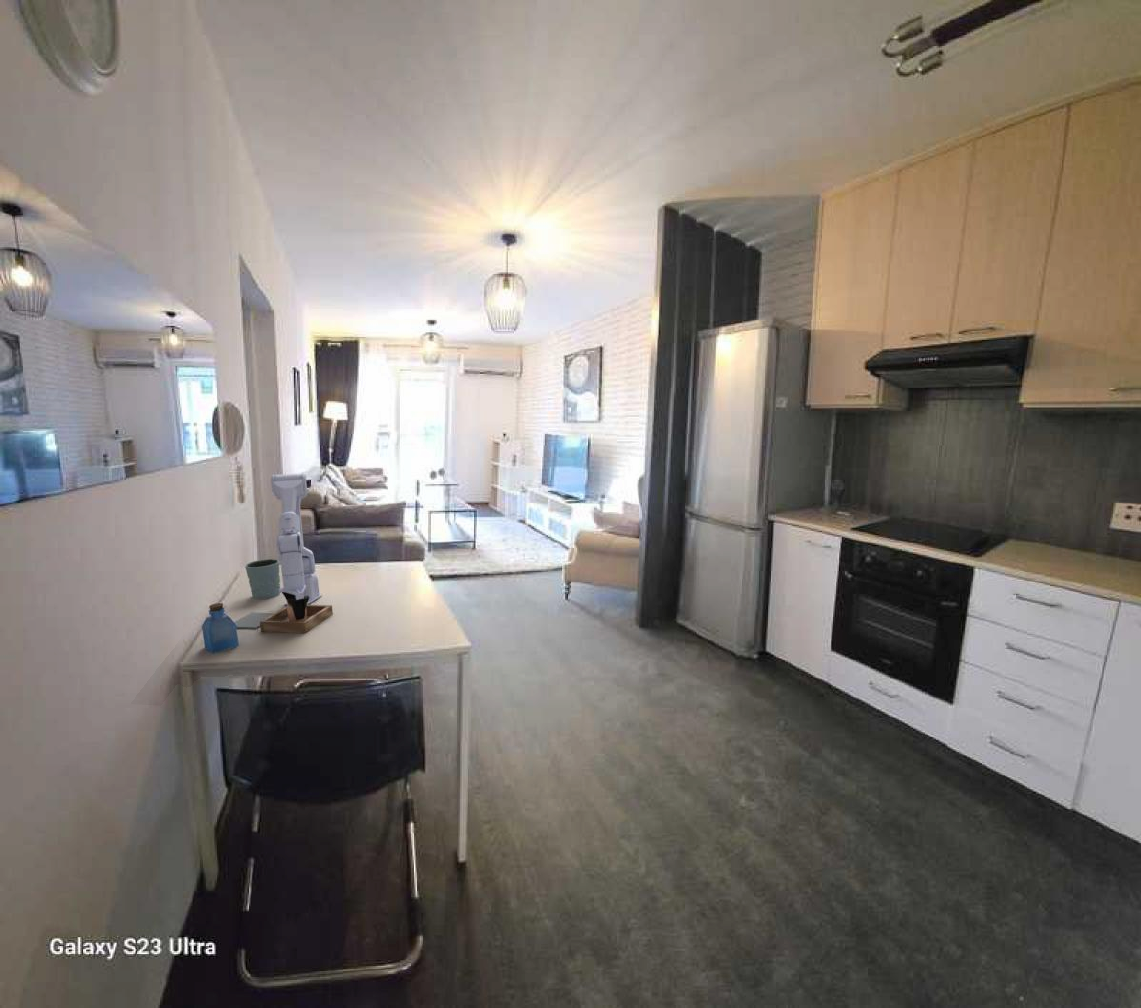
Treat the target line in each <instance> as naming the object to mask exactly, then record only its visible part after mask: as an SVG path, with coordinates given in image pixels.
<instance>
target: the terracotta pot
mask: <svg viewBox="0 0 1141 1008" xmlns="http://www.w3.org/2000/svg"><path fill="white" fill-rule="evenodd" d="M286 607H287V611H288V617H287V619H288V621H297V622H304V621H305V620H307V619H308V615H307V612H306V610H305V617H304V619H301V620H296V618H295V615H294V612H293V609H292V606H291V604H290V603H289V604H288V605H286Z"/></svg>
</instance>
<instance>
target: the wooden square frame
mask: <svg viewBox="0 0 1141 1008" xmlns="http://www.w3.org/2000/svg"><path fill="white" fill-rule="evenodd" d="M306 612H307V616H310V617H309V618H308V617H307V620H305V621H304V622H297V621H289V620H287V621H286V620H285V619H288V611H287V606H285V607H284V608H282V609H280V610H278V611H277V612H273V613H274V614H273V615H271V616H269V617H267V618H266V619H264V620H262V621H260V627H259V628H260V632H264V633H265V632H267V633H268V632H272V633H299V634H300V633H301V634H302V633H303V634H306V633H307V632H309V631H310V630H313V629H314V628H315V627H316V626H318V625H320V624H321V623H322V622H324V621H325V620H326V619H328V618H329V617H331V616H332V615H333V614H334V612H333V605H332V604H331V605H329V604H308V605H306Z"/></svg>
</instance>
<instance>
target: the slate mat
mask: <svg viewBox="0 0 1141 1008" xmlns="http://www.w3.org/2000/svg"><path fill="white" fill-rule="evenodd" d="M274 613H275V612H256V611H255V612H250V613H249V614H246V615H244V616H242V617H240V618H239V619H237V620H235V621H233V622H234V623H235V624H236V629H242V630H243V629H246V630H247V629H248V630H250V629H251V630H257V629H259V628H261V627H260V621H262V620H264V619H266V618H267V617H269V616H271V615H273V614H274Z"/></svg>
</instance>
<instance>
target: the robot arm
mask: <svg viewBox="0 0 1141 1008" xmlns="http://www.w3.org/2000/svg"><path fill="white" fill-rule="evenodd" d="M270 483H271V490H272V492H273V495H274V497H275V498H276V500H280V501H281V510H282V514H280V515H279V517H278V529H277V530H278V536H276V539H275V545H276V546H275V547H276V552H277V554H278V560H279V561H280V569H281V576H282V578H281V579H282V585H283V587H282V588H281V587H280V589H279V592H280V593H281V594H282V595H283V597H284V598H285V601H286V602H285V603H283V604H284V606H287V605H288V604H289V603H290V604H291V606H292V609H293V612H294V615H295V618H296V620H301V619H304V617H305V610H306V605H310V604H312V603H313V602H314V601H316V600H318V599H319V598H322V596H323V595H322V594H320V586H319V585H320V584H319V579H318V576H317V575H316V574H315V573H316V563H315V556H314V552H313V551H312V550H311V549H309V548H307V547H305V546H304V534H303V524H302V514H301V513H302V512H301V511H302V510H301V503H302V500H303V499H305V498H307V495H308V487H307V486H308V485H307V476H306V474H305V472H301V473H287V474H286V473H284V474H272V475H271V476H270Z"/></svg>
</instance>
